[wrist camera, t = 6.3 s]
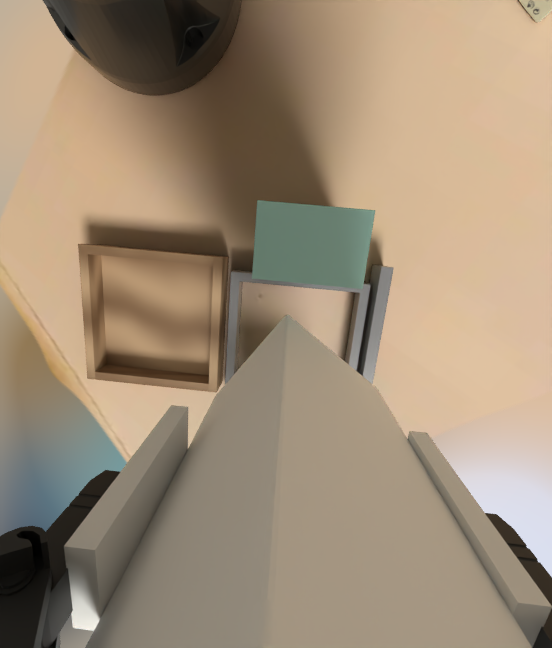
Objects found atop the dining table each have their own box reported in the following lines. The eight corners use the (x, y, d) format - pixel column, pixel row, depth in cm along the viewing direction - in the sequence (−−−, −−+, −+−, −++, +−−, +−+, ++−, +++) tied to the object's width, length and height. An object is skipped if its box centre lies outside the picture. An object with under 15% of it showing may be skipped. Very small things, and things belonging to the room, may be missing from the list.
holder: (238, 213, 28) (193, 184, 15) (389, 227, 28) (471, 207, 15) (226, 431, 34) (186, 540, 21) (352, 445, 33) (388, 565, 21)
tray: (96, 244, 29) (78, 244, 27) (228, 256, 29) (222, 257, 26) (103, 368, 33) (87, 378, 30) (222, 381, 32) (216, 392, 30)
